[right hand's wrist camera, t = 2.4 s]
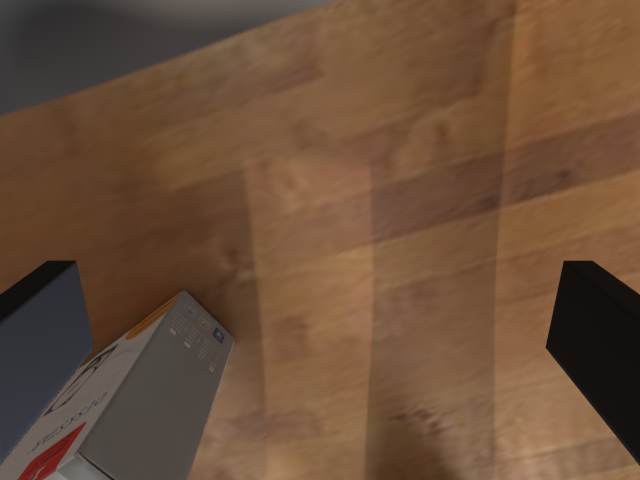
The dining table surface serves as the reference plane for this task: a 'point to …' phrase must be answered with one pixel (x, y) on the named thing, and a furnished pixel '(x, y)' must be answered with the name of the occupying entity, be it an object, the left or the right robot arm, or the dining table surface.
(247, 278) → the dining table surface
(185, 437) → the hard drive box
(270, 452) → the dining table surface
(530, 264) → the dining table surface
